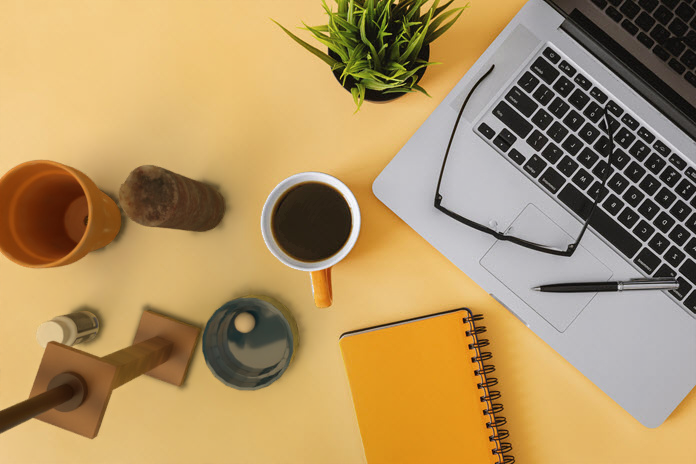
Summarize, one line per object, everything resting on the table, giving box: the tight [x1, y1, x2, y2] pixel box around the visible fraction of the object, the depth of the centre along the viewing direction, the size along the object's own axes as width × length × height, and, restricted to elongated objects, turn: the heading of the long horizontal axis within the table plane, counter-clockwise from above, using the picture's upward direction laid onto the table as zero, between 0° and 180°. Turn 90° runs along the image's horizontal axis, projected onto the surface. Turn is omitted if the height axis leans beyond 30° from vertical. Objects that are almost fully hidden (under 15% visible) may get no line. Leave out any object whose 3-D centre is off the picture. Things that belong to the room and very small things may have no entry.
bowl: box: [201, 294, 300, 392], centre depth 71 cm, size 13×13×6 cm
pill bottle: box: [35, 310, 100, 350], centre depth 71 cm, size 5×5×8 cm
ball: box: [235, 312, 255, 333], centre depth 72 cm, size 3×3×3 cm
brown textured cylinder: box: [118, 164, 226, 233], centre depth 65 cm, size 8×7×20 cm
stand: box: [27, 309, 202, 440], centre depth 62 cm, size 9×9×24 cm
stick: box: [0, 372, 88, 435], centre depth 45 cm, size 4×4×12 cm
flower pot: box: [0, 159, 122, 270], centre depth 69 cm, size 14×14×13 cm
